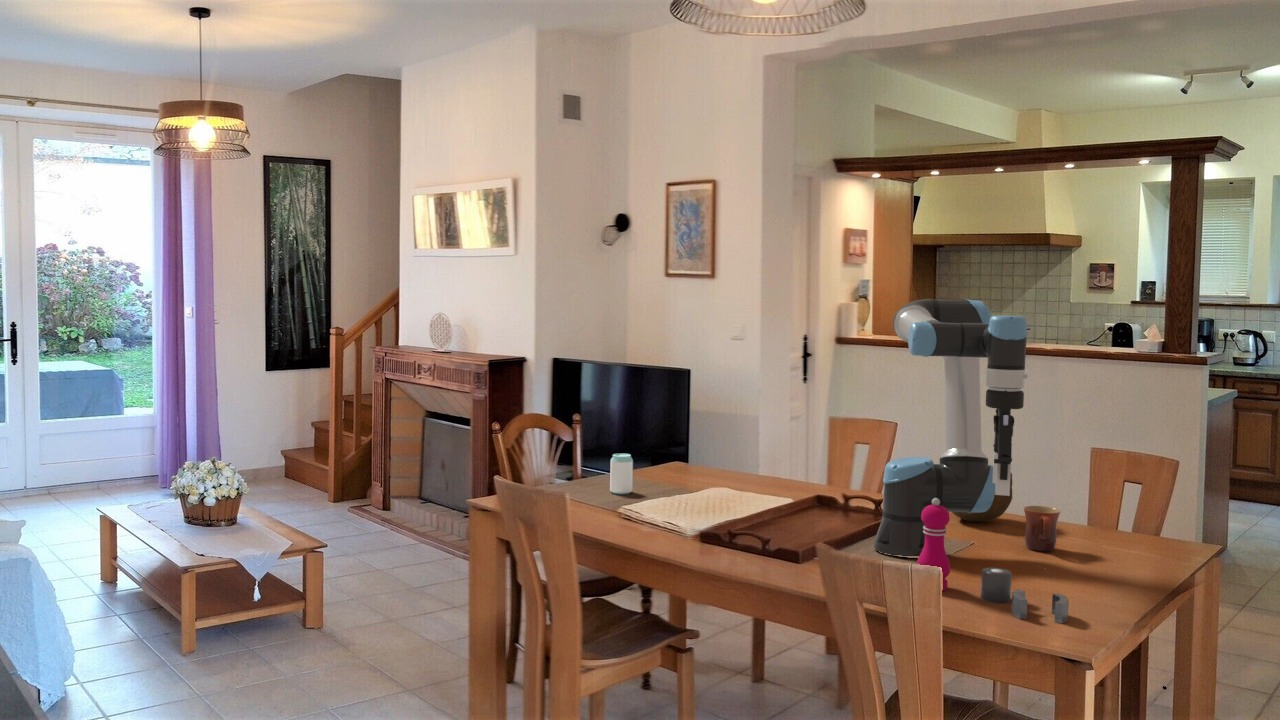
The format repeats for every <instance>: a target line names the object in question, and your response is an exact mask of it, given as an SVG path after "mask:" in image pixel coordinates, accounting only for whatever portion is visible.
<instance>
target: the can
mask: <svg viewBox="0 0 1280 720" xmlns="http://www.w3.org/2000/svg"><path fill="white" fill-rule="evenodd" d="M609 467H610V471H609V473H610V475H609V479H610V480H609V491H610V492H611V493H612V494H613V495H629V494H631V493H632V492H633V487H634V486H633V482H634V481H633V479H634V478H633V477H634V459H633V458H632V455H631V454H630V453H613V454H612V457H611V458H610V466H609Z"/></svg>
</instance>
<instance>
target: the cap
mask: <svg viewBox="0 0 1280 720" xmlns="http://www.w3.org/2000/svg"><path fill="white" fill-rule="evenodd" d="M1012 574H1013V573H1012V571H1010V570H1008V569H1004V568H1000V567H984V568H982V570H981V583H980V584H981V585H980V599H981V600H983V601H985V602H988V603H992V604H1009V603H1011V600H1012V577H1013V576H1012Z"/></svg>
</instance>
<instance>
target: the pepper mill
mask: <svg viewBox="0 0 1280 720" xmlns="http://www.w3.org/2000/svg"><path fill="white" fill-rule="evenodd" d="M932 504H933V505H929V506H926V507H925V508H924V509H923V511H922V514H921V519H922V521H923V523H924V524H925V526H923V528H924V530H923V533H924V534H925V544H924V547H923V550H922V552H921V554H920V556H919V558H917V560H916V565H917V564H920V565H930V566H937V567H941V568H942V572H943V591H942V592H944V591H947V589H948V580H947V579H946V578H947V577H948V576H949V575H950V573H951V564H950V559H949V557H948V555H947V553H946V548H945V536H946V535H947V533H948V532H947V529H948V528H947V527H946V526H947V525H948V524H949V522H950V519H951V518H950V513H949V512H948V511H947V509H946V508H944V507H943V506H940V505H939V504H940V500H939V499H938V498H934V499H933V500H932Z"/></svg>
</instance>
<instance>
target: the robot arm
mask: <svg viewBox="0 0 1280 720" xmlns="http://www.w3.org/2000/svg"><path fill="white" fill-rule="evenodd" d="M1027 322H1028V321H1027V318H1026V317H1024V316H1023V315H1022V316H1021V315H992V314H991V311H990V309H989V307H988V305H987V304H986V303H985V302H984V301H982V300H975V299H974V300H973V299H968V298H965V299H939V298H938V299H933V298H922V299H916V300H913V301H911V302H908V303H906V304H904V305H902V306H901V307H900V308H899V309H898V310H897V311H896V312H895V314H894V316H893V319H892V327H893V332H894V333H895V335H896V336H897V337H898V338H899V339H900V340H902V341H903V342H905V343H908V344H907V345H908V351H909V353H910V355H912V356H917V357H918V356H920V357H926V358H927V357H942V358H943V361H944V363H943V364H944V413H945V414H944V415H945V416H944V418H945V419H944V421H945V422H944V424H945V425H944V426H945V430H944V431H945V433H944V435H945V451H944V453H942V454H941V456H939V464H937V463H936V464H935V463H934V462H933V459H932V458H930V457H925V456H924V457H923V456H921V457H920V456H908V457H901V458H900V457H899V458H896V459H895V458H894V459H893V460H890V461H888V462H887V463H886V465H885V466H884V473H883V479H882V482H883V494H882V495H883V496H882V516H881V517H882V519H881V522H880V525H879V527H878V530H877V533H876V534H875V537H874V541H873V543H874V545H873V547H874V548H875V549H876V550H878V551H880V552H882V553H887V554H891V555H902V556H920V554H921V552H922V550H923V547H924V544H925V534H924V533H923V530H924V528H923V526H925V524H924V523H923V521H922V519H921V514H922V511H923V509H924V508H925V507H926V506H929V505H933V504H932V500H933V499H934V498H938V499H939V500H940V504H939V505H940V506H943V507H944V508H946V509H947V511H948V512H951V513H952V512H968V513H972V512H985V511H987V510H988V509H989V508H990V507H991V505H992V502H993V499H994V495H1005V496H1010V474H1011V473H1012V471H1011V470H1012V468H1011V467H1012V466H1011V465H1012V462H1013V458H1012V454H1013V453H1012V450H1013V449H1012V446H1013V445H1012V441H1013V440H1012V437H1013V436H1014V435H1013V434H1014V426H1015V418H1014V416H1013V415H1011V414H1012V411H1011V410H1020V409H1023V407H1024V405H1025V404H1024V402H1025V401H1024V399H1025V397H1024V396H1025V392H1024V391H1023V390H1022V389H1023V388H1024V387H1025V380H1024V379H1028V378H1029V376H1028V373H1025V372H1026V353H1027V338H1028V334H1029V332H1028V327H1027V326H1028V325H1027V324H1028V323H1027ZM980 358H987V366H986V367H987V368H986V378H985V379H986V380H985V381H986V383H985V386H986V387H987V388H988V389H987V390H986V391H985V406H986V407H988V408H990V409H995V414H993V432H994V440H993V441H994V442H993V443H994V444H993V451H994V453H993V460H992V461H993V465H989V457H988V456H987V455H986V454H985V453H983V451H982V415H981V414H982V412H981V411H982V410H981V372H980V371H981V370H980V369H981V368H980V367H981V366H980V365H981V364H980ZM995 490H996V492H995ZM874 548H873V549H874ZM875 549H874V550H875ZM876 550H875V551H876Z"/></svg>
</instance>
